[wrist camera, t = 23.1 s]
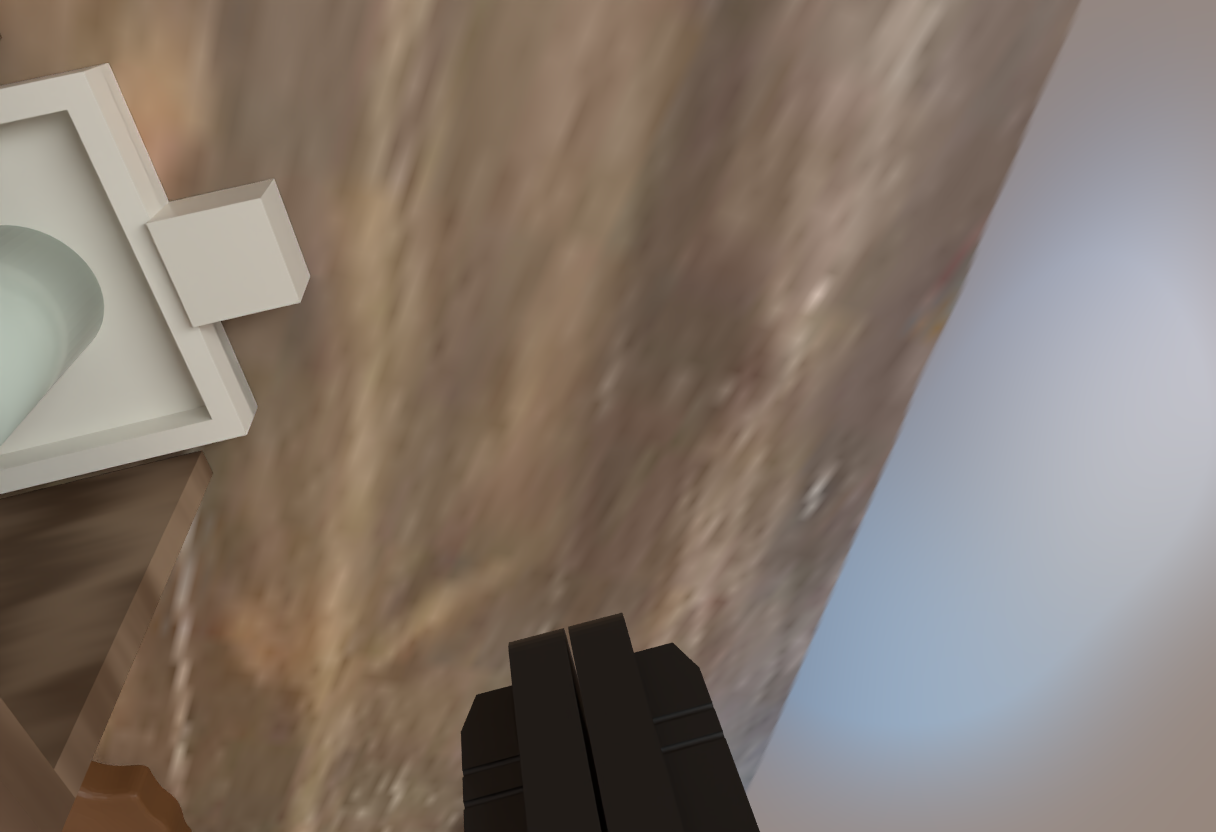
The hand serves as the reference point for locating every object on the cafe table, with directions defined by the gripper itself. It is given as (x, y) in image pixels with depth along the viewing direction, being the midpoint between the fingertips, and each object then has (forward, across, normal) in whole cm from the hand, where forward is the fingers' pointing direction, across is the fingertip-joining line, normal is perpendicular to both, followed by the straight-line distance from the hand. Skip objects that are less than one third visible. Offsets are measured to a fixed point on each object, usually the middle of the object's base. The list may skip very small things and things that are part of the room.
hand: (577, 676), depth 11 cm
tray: (+27, +18, 0) cm, 32 cm away
